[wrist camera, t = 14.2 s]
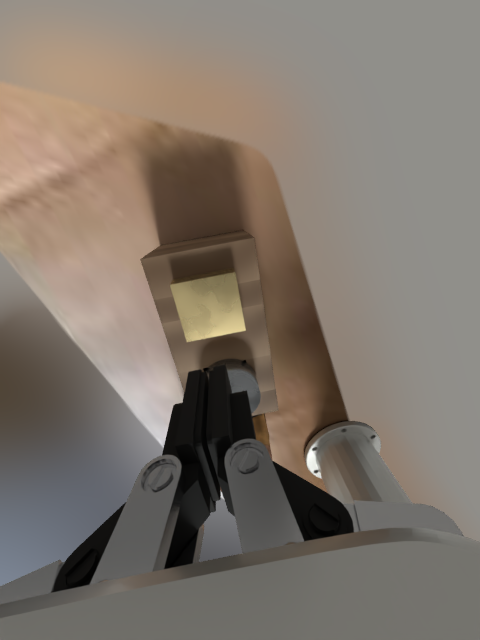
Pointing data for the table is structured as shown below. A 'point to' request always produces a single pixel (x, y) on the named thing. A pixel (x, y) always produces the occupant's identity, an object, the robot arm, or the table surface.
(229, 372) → the pin
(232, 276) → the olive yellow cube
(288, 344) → the table surface
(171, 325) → the block
